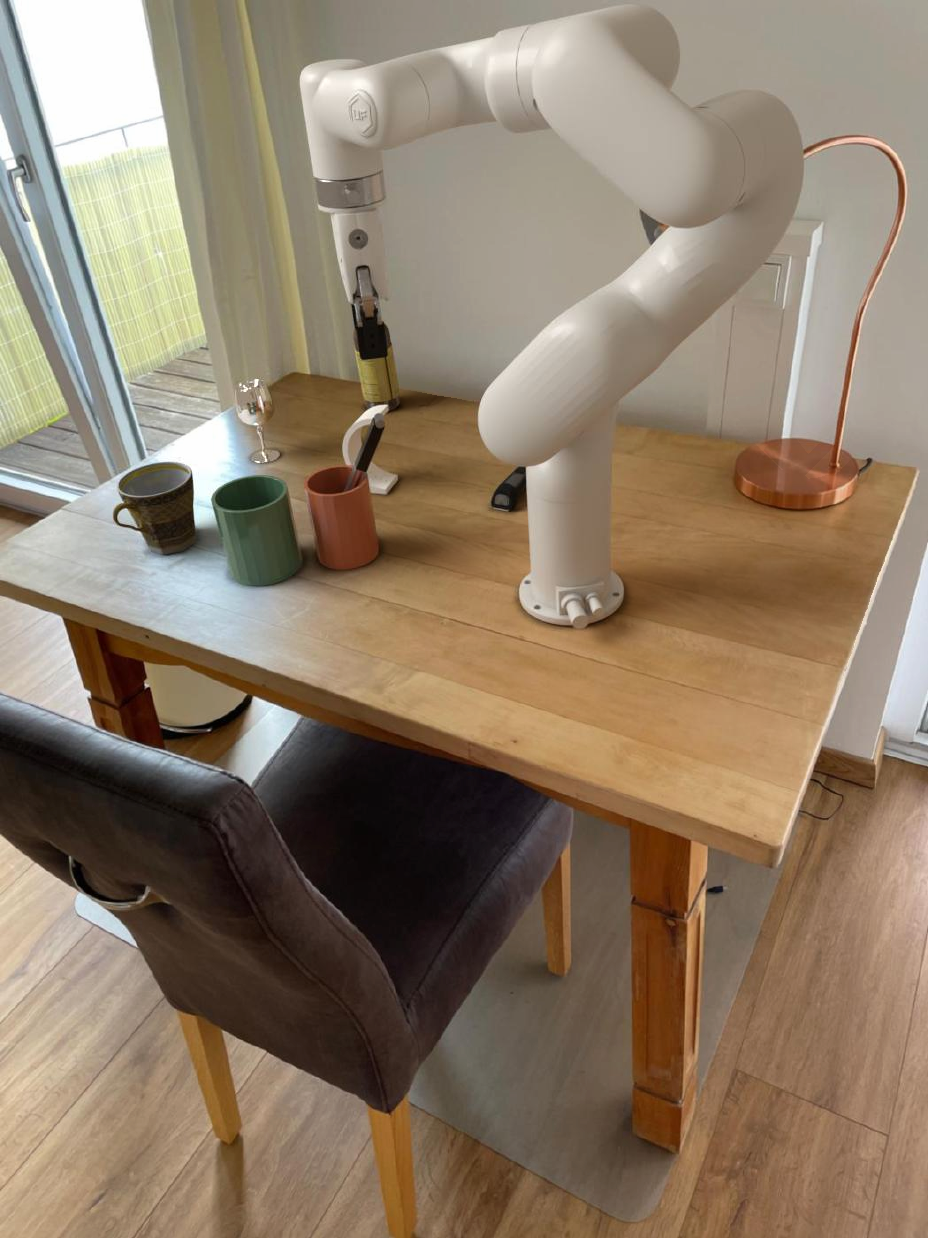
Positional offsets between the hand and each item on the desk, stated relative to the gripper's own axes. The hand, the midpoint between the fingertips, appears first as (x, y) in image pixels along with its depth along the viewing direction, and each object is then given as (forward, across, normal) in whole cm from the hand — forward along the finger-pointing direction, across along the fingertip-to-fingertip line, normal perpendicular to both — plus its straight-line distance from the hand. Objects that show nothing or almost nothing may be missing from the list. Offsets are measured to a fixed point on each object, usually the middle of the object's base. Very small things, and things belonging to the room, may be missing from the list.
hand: (370, 342), depth 119 cm
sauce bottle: (+28, +45, -2) cm, 53 cm away
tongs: (+27, -1, +5) cm, 28 cm away
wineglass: (+28, +32, +18) cm, 46 cm away
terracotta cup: (+28, -1, +7) cm, 29 cm away
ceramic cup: (+28, +8, +32) cm, 43 cm away
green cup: (+28, -1, +18) cm, 33 cm away
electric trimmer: (+28, +10, -19) cm, 35 cm away
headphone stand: (+28, +17, +2) cm, 33 cm away
